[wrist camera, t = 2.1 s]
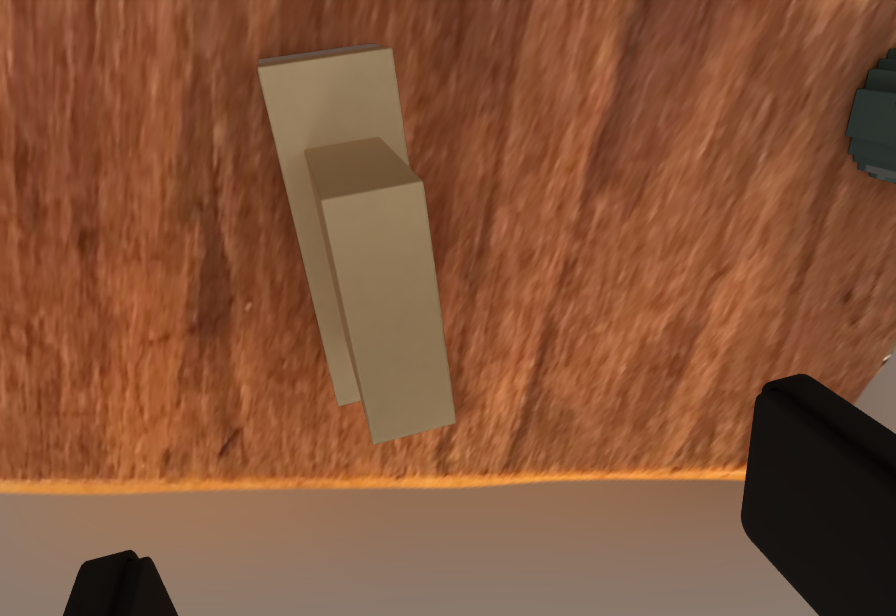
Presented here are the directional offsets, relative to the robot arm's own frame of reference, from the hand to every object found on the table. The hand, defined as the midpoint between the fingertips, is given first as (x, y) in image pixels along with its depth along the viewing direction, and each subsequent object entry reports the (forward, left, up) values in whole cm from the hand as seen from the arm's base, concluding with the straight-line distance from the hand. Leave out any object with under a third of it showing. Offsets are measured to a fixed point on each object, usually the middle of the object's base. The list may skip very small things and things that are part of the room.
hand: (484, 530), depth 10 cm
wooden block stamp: (0, 0, -17) cm, 17 cm away
